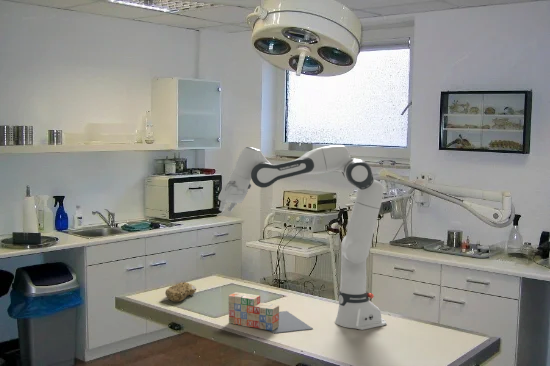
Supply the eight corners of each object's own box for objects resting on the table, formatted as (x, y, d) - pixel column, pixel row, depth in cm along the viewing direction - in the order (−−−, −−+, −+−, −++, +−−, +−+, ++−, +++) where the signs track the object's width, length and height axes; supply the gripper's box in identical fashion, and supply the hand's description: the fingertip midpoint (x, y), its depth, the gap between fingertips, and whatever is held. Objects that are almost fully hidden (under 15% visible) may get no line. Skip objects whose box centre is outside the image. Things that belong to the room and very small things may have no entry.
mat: (286, 311, 286) (286, 310, 286) (312, 329, 263) (312, 328, 263) (250, 315, 279) (250, 314, 279) (273, 333, 255) (273, 332, 255)
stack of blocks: (279, 326, 262) (279, 298, 261) (272, 331, 257) (272, 302, 256) (235, 319, 272) (235, 291, 271) (228, 323, 267) (228, 295, 266)
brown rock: (179, 294, 314) (154, 295, 297) (184, 279, 314) (159, 279, 297) (199, 303, 308) (175, 304, 290) (204, 288, 308) (180, 288, 290)
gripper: (235, 183, 257) (221, 214, 259) (252, 185, 277) (240, 214, 278) (222, 177, 259) (209, 207, 261) (241, 179, 279) (228, 207, 280)
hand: (225, 210), depth 269 cm, fingers open, 8 cm apart
